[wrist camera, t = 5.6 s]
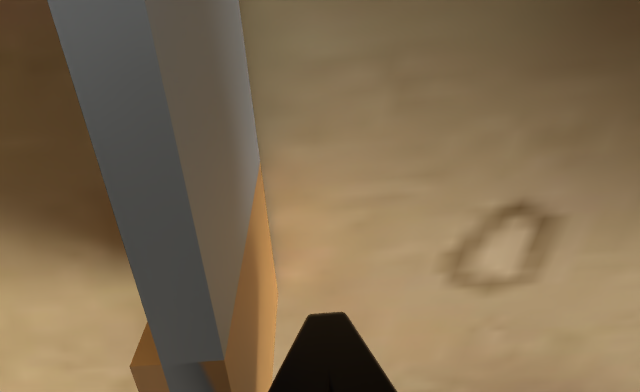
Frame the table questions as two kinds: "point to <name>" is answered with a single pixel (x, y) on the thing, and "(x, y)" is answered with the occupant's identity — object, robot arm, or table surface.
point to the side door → (180, 183)
